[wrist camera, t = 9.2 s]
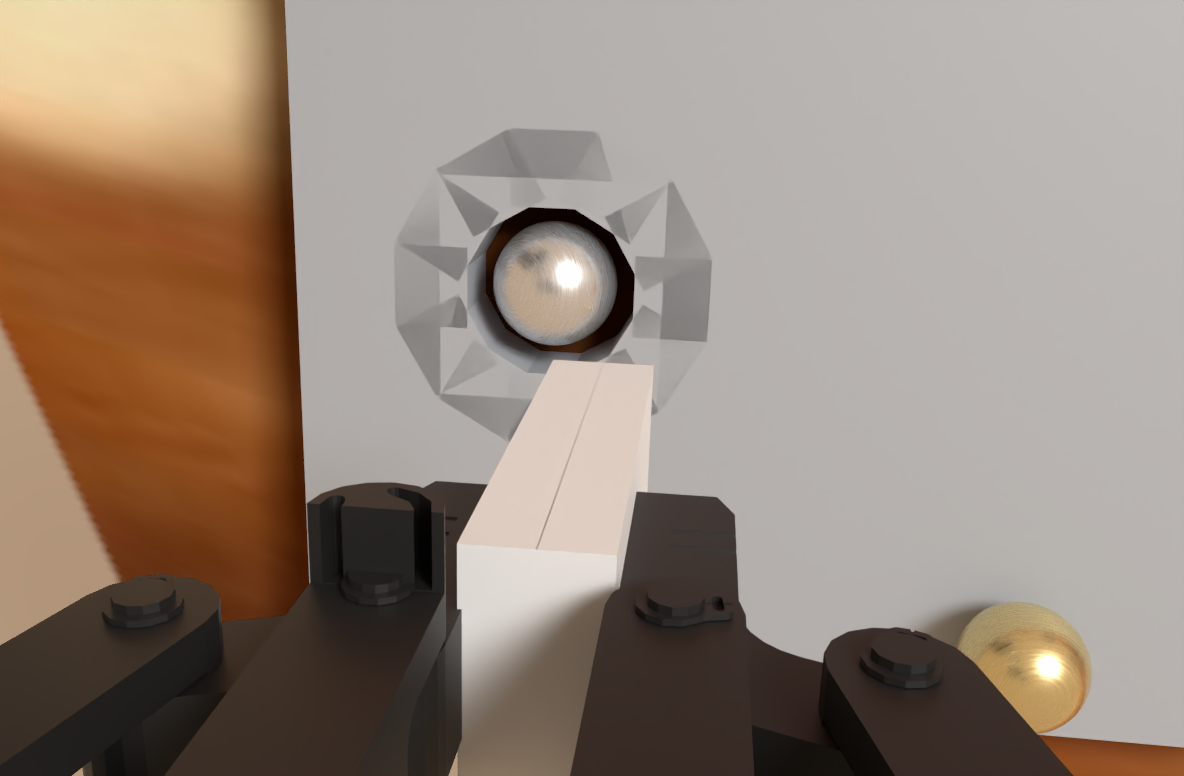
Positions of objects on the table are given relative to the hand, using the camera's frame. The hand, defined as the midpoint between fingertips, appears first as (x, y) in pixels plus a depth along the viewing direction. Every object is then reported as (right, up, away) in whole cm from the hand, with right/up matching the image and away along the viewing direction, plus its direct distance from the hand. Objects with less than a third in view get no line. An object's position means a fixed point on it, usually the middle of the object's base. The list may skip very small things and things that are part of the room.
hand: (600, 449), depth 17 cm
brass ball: (+11, -6, +13) cm, 18 cm away
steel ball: (-1, +4, +14) cm, 14 cm away
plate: (+6, +4, +15) cm, 16 cm away
